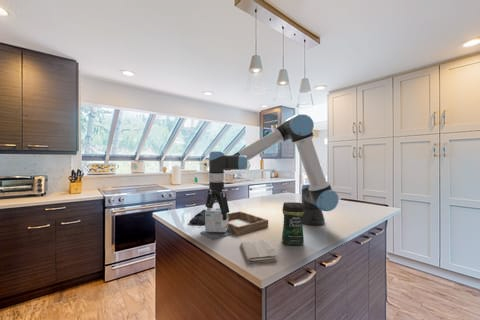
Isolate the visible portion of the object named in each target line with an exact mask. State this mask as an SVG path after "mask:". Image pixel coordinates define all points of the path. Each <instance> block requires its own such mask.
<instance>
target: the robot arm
mask: <svg viewBox="0 0 480 320" xmlns="http://www.w3.org/2000/svg"><path fill="white" fill-rule="evenodd" d="M313 130H314V121H313V119H312V117H311V116H310V115H308V114H305V113H297V114H294V115H292V116H291V117H289V118H287V119H286V120H284V121H283V122H282V123H280V124H279V125H278V126H276V127H275V128H273V131H272V132H269V133H268V134H266V135H264V136H263V137H261V138H260V139H258V140H256V141H254V142H252V143H251V144H249V145H247V146H245V147H243V148H242V149H240V150H239V151H237V152H235V153H234V154H230V155H227V154H225V152H224V151H222V150H220V151H218V150H217V151H216V150H215V151H210V152H209V154H208V155H209V157H208V159H209V160H208V164H209V167H208V168H209V170H208V171H209V173H208V178H209V179H208V180H209V184H208V185H209V186H208V187H209V188H208V190H207V197H206V201H205V208H207V209H208V208H214V207H213V206H214V204H215V202H218V203H217V204H218V207H219V208H220V209H221V212H222V213H221V227H225V226H226V214H227V213H228V214H229V213H230V209H229V203H228V198H227V192H223V190H224V189H225V182H224V180H225V170H226V171H227V170H229V171H234V170H235V171H237V170H238V171H242V170H246V169H247V168H248V161H250V160H252V159H254V158H255V157H257V156H259V155H260V154H262V153H264V152H266V151H267V150H269V149H271V148H273V147H274V146H276V145H278V144H279V143H284V142H286V141H288V140H291V143H292V144H294V145H295V146H296V149H297V152H298V154H299V157H300V160H301V163H302V165H303V169H304V171H305V174H306V177H307V180H308V183H309V184H306V183H305V184H302V185H301V190H300V191H301V203H302V204H303V207H304V214H303V217H302V225H303V224H304V225H308V226H323V225H325V223H326V219H325V216H324V214H323V213H324V212H331V211H334V209H336V208H337V205H339V200H340V199H339V195H338V193H336V191H335V190H333V189H332V187H331V183H330V182H328V181H327V180H326V178H325V175H324V171H323V168H322V165H321V162H320V160H319V157H318V153H317V152H316V151H317V150H316V147H315V145H314V142H313V137H314V135H315V134H314V132H313ZM207 209H206V210H207ZM223 210H224V211H223Z"/></svg>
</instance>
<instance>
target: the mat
mask: <svg viewBox="0 0 480 320" xmlns="http://www.w3.org/2000/svg"><path fill="white" fill-rule="evenodd" d="M200 234H201V235H202V236H206V237H207V238H208V239H210V240H218V239H221V238H225V237H228V236H231V235H234V233H232V232H230V231H226V232H205V230H203V231H200Z"/></svg>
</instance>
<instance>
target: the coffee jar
mask: <svg viewBox="0 0 480 320" xmlns="http://www.w3.org/2000/svg"><path fill="white" fill-rule="evenodd" d="M281 210H282V214H283V226H282V233H281V235H282V236H281V240H282V241H281V242H282V243H283V244H285V245H287V246H302V245H304V241H305V240H304V229H303V223H302V217H303V214H304V207H303V204H302V202H296V201H295V202H293V201H292V202H290V201H288V202H287V201H286V202H283V204H282V209H281Z"/></svg>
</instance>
